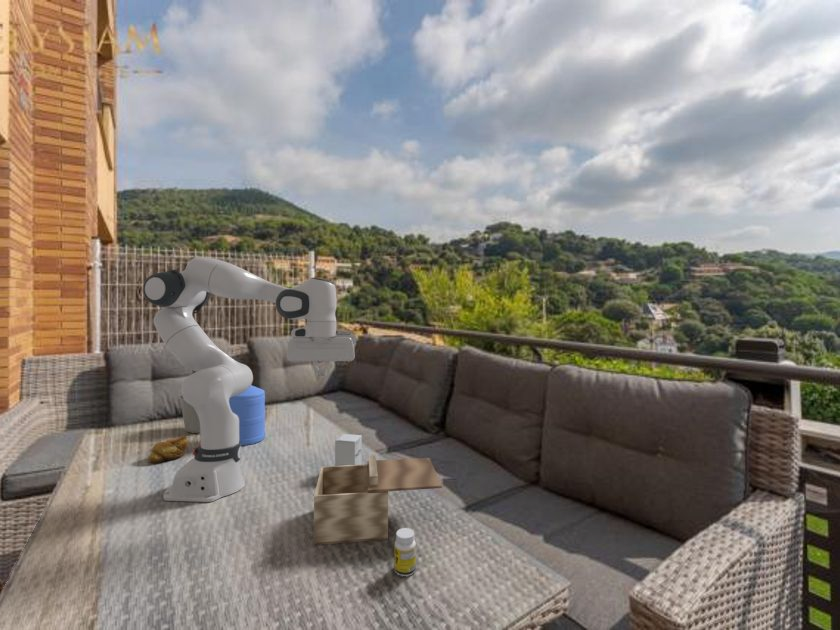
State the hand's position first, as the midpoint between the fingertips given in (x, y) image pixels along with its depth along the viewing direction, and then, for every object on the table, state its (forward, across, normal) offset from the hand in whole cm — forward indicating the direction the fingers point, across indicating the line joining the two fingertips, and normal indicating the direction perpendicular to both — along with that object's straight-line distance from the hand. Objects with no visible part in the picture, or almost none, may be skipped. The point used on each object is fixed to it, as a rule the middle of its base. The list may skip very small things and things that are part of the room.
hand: (321, 375), depth 122 cm
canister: (+38, +61, -71) cm, 101 cm away
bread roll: (+38, +60, -36) cm, 80 cm away
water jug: (+37, +37, -54) cm, 75 cm away
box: (+37, -10, +18) cm, 42 cm away
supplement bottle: (+37, -22, +39) cm, 58 cm away
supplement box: (+37, -8, -14) cm, 40 cm away
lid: (+24, -23, +18) cm, 38 cm away
